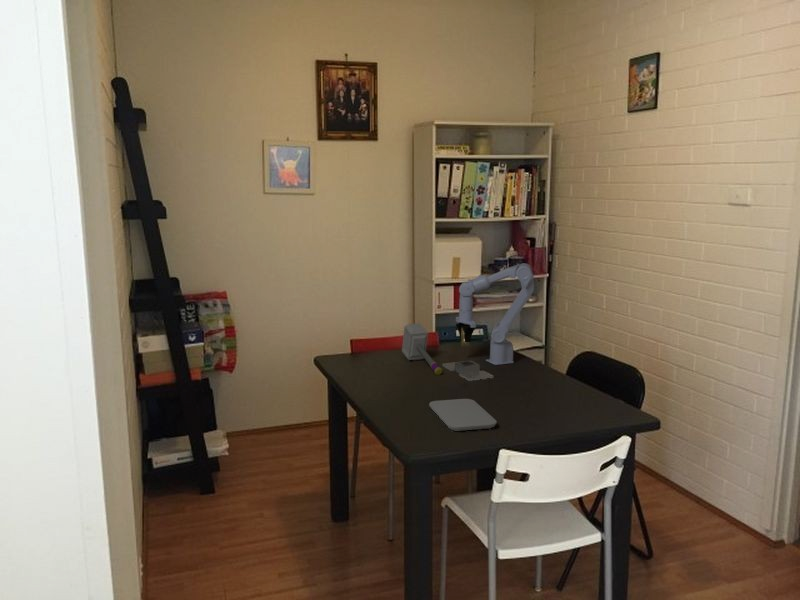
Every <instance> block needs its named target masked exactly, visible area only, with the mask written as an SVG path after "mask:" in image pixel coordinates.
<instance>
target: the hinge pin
mask: <svg viewBox="0 0 800 600" xmlns="http://www.w3.org/2000/svg"><path fill="white" fill-rule="evenodd" d="M460 346H461V347H466V348H467V347H469V346H470V342H465V338H464V331H463V328H462V327H461V339H460Z"/></svg>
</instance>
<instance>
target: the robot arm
mask: <svg viewBox="0 0 800 600" xmlns="http://www.w3.org/2000/svg"><path fill="white" fill-rule="evenodd" d="M507 278H511V279H516V278H517V279H518V281H519V283H520V286H521V289H520V291H519V292H518V294H517V296H516V297H515V298H514V300H513V302H512V304H511V305H510V306H509V308H508V310H507V311H506V313H505V314H504V316H503V317H502V319H501V320H500V321H499V323H498V324H496V325H495V326H494V327H493V328H492V332H491V335H490V338H491V339H490V343H489V345H490V347H489V348H490V349H489V358H488V359H485V361H486V362H488V363H490V364H492V365H494V366H498V365H507V364H508V365H509V364H514V345H513V342H511V341H510V340H508V339H507V335H508V332H509V331H510V329H511V326H512V325H513V323H514V322H515V320H516V319H517V317H518V316H519V314H520V313H521V311H522V310H523V308H524V307H525V305H526V303H528V301H529V299H530V298H531V296H532V295H533V293H534V290H535V281H534V272H533V269H532V267H531V265H530V264H529V263H524V262H523V263H520V264H516V265H512V266H509V267H507V268H505V269H502V270H500V271H497V272H496V273H493V274H490V275H486V274H483V275H482V274H479V275H478V276H477V277H475V278H472V279H471V278H470V279H469V278H468V280H467V281H463V282H462V283H461V284H460V286H459V288H458V292H459V307H458V309H459V310H458V316H456V317H455V322H456V323H455V326H456V329H457V331H458V334H459V339H460V340H461V327H462V328H463V331H464V338H465V342H469V343H470V342H471V340H472V336H473V333H474V331H475V330H476V328H477V323H476V322H475V321H474V320H473V315H474V314H473V311H474V310H473V309H474V308H473V307H474V306H473V305H474V299H473V293H478V292H480V291H483V290H485V289H489V288H490V286H491V284H493V283H496V282H498V281H502V280H505V279H507Z"/></svg>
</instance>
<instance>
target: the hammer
mask: <svg viewBox="0 0 800 600" xmlns="http://www.w3.org/2000/svg"><path fill="white" fill-rule="evenodd" d="M428 337H429V332H428V331H427V329H425V327H424V326H423V325H422V323H421V322H420V323H419V322H418V323H407V324H405V325H404V327H403V338H402V339H403V340H402V344H401V345H402V347H401V352H402V354H403V355H404V356H405V358H406V359H407V360H408V361H410V360H413V361H421V360H424V359H425V361H426V362H427V364H429V366H430V369H431V370H432V371H433V372H434V374H435V375H436V376H439V375H441V374H442V373H443V368H442V367H440V365H439V363H437V362H436V361H435V360H434V359H433V358H432V357H431V355H430V354H429V353H428V352H427V344H428ZM410 362H411V361H410Z"/></svg>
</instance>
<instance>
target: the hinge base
mask: <svg viewBox="0 0 800 600" xmlns="http://www.w3.org/2000/svg"><path fill="white" fill-rule="evenodd" d="M441 364H442V365H441V366H442V367H444V368H445V369H446V370H448V371H451V372H453V371H454V372H457V373H458V374H459V375H458V376H460V377H461V378H462V379H464V378H465V381H468V382H472V381H473V380H474V381H479V380H480V379H482V380H488V379H487V378H490V379H494V375H493V374H491V373H489V372H488V371H485V370H481V369H480V368H481V366H480V364H478V363H477V362H475V361H473V360H461V361H453V362H445V363H441Z"/></svg>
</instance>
